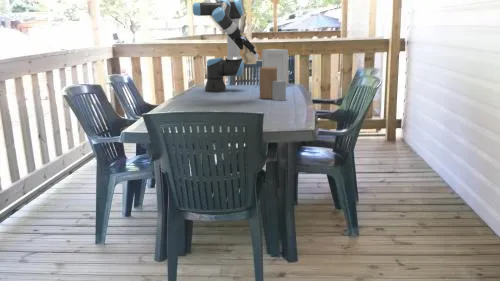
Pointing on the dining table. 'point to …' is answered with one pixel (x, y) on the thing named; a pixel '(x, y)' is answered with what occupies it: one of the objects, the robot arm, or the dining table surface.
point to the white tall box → (276, 62)
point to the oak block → (249, 55)
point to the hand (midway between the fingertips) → (254, 56)
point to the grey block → (279, 90)
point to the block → (267, 81)
